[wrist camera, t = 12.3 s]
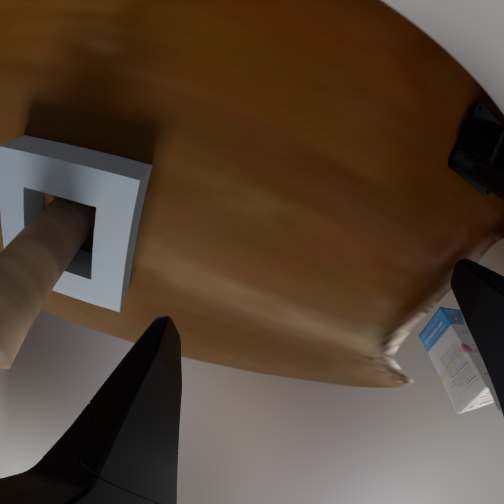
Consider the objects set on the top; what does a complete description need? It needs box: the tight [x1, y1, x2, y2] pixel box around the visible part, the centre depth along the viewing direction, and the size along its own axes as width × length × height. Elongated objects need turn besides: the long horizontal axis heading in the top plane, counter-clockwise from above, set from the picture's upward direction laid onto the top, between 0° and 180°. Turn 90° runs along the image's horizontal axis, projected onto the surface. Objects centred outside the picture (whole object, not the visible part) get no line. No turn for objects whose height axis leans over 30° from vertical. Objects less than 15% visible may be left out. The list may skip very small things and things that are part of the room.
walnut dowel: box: [0, 197, 96, 369], centre depth 14 cm, size 4×4×13 cm
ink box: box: [419, 307, 502, 414], centre depth 24 cm, size 8×5×15 cm, turn 74°
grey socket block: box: [0, 135, 152, 312], centre depth 19 cm, size 11×11×3 cm
